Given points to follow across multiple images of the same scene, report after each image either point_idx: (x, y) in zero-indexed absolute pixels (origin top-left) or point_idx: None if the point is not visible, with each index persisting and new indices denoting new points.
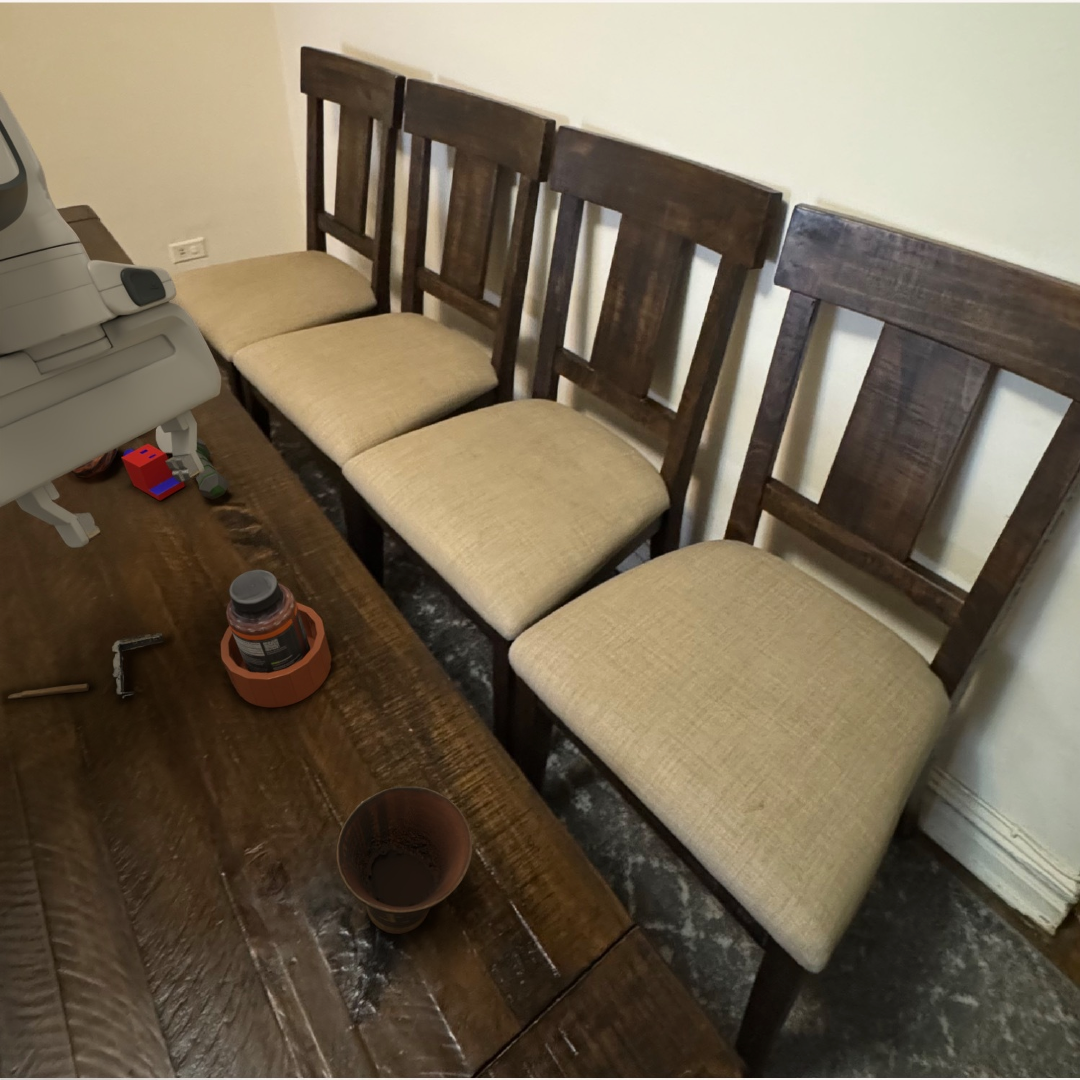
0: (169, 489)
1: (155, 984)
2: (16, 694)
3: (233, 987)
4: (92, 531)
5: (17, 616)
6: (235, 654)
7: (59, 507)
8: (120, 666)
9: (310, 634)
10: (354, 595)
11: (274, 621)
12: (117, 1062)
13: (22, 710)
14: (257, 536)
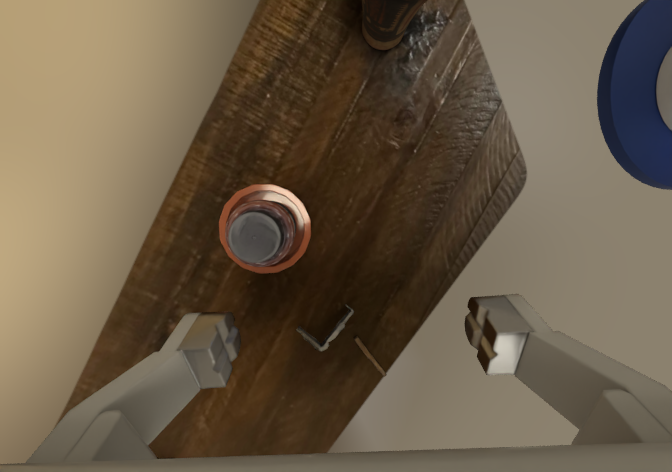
0: None
1: (476, 141)
2: (382, 372)
3: (461, 99)
4: (495, 302)
5: (333, 435)
6: (287, 257)
7: (595, 367)
8: (335, 330)
9: None
10: (173, 223)
11: (270, 204)
12: (510, 131)
13: (388, 358)
14: None
